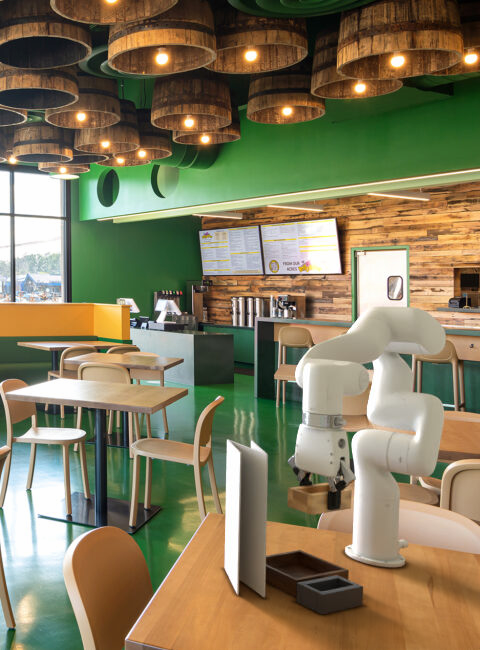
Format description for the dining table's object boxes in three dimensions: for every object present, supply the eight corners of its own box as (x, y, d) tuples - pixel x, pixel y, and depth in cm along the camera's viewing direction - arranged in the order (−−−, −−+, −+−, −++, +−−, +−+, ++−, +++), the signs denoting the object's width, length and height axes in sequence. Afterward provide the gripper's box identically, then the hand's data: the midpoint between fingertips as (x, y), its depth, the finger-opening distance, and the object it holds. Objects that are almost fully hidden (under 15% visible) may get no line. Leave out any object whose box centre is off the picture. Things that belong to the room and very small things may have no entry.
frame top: (325, 500, 147) (326, 482, 147) (351, 508, 142) (351, 489, 142) (287, 506, 142) (287, 487, 142) (312, 515, 137) (312, 495, 137)
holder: (299, 564, 158) (299, 549, 158) (348, 586, 146) (348, 569, 146) (248, 574, 152) (249, 558, 152) (296, 597, 140) (296, 580, 140)
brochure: (265, 597, 139) (268, 454, 138) (237, 594, 140) (240, 453, 140) (249, 570, 153) (252, 440, 152) (224, 568, 154) (227, 439, 153)
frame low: (336, 593, 142) (336, 574, 142) (362, 605, 137) (363, 586, 137) (296, 602, 138) (296, 582, 138) (321, 614, 132) (322, 594, 132)
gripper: (372, 427, 135) (369, 514, 136) (299, 413, 151) (296, 491, 152) (347, 429, 132) (344, 519, 133) (275, 414, 148) (273, 495, 148)
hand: (319, 503), depth 142 cm, fingers closed on frame top, 6 cm apart
